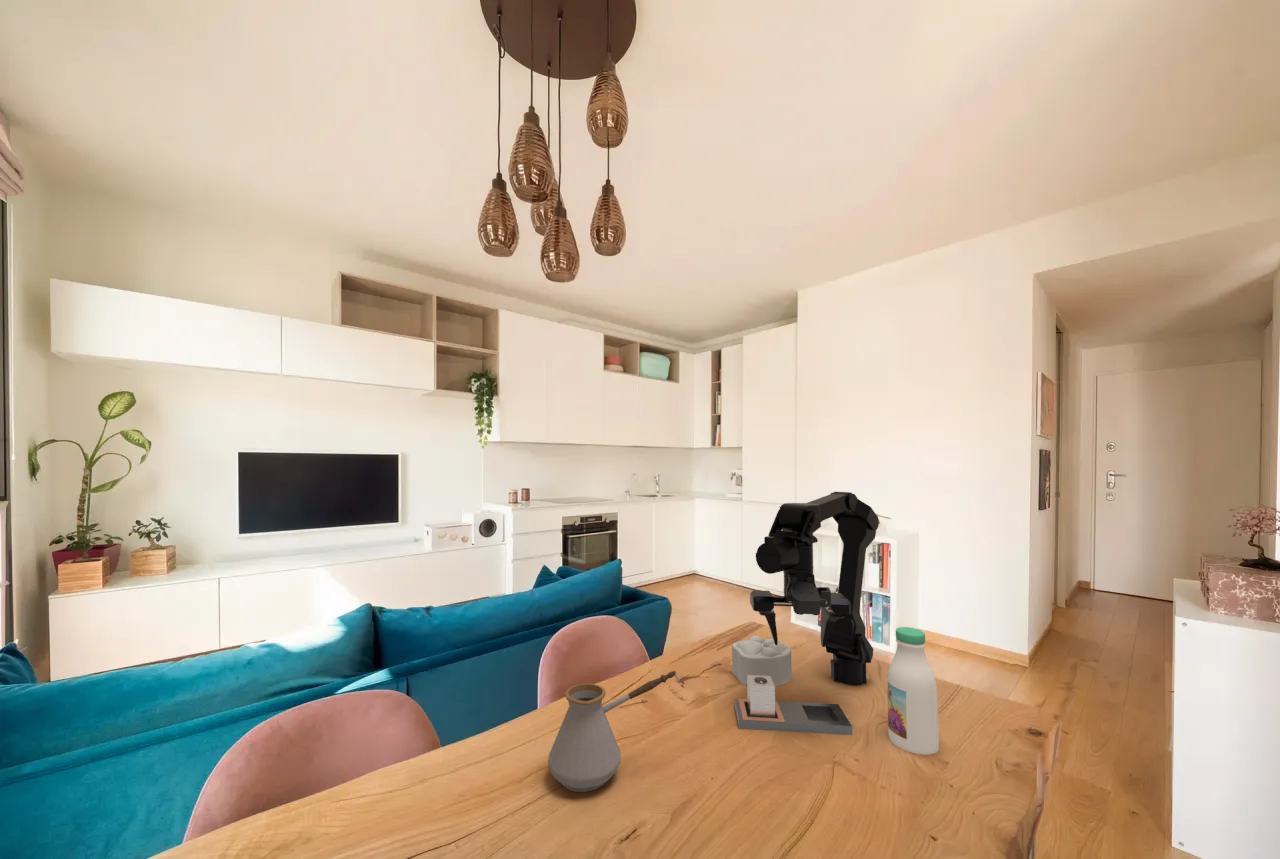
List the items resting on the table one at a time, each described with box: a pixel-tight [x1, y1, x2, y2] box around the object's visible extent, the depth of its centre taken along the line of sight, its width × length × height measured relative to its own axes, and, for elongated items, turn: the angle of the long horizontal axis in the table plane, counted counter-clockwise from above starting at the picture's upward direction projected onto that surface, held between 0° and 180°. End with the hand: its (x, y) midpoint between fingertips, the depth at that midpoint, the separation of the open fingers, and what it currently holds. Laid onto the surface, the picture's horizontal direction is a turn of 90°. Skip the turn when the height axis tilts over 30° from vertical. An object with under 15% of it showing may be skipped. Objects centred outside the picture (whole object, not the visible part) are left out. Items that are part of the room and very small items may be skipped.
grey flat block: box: [734, 698, 853, 736], centre depth 93 cm, size 20×8×3 cm, turn 85°
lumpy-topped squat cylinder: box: [731, 635, 793, 687], centre depth 112 cm, size 10×13×9 cm
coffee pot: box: [547, 670, 681, 793], centre depth 79 cm, size 21×12×15 cm, turn 101°
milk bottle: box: [887, 626, 940, 756], centre depth 86 cm, size 8×8×20 cm
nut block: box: [746, 675, 776, 718], centre depth 93 cm, size 4×4×7 cm
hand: (799, 645), depth 98 cm, fingers open, 9 cm apart
